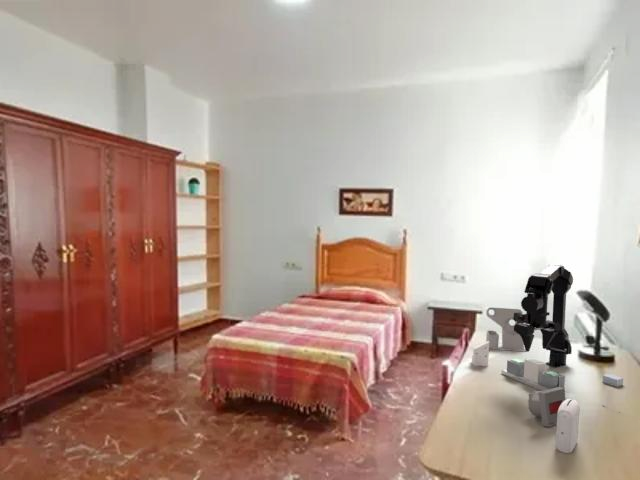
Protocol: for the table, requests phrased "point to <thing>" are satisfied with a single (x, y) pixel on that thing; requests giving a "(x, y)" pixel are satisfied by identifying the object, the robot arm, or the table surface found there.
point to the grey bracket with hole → (505, 330)
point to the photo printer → (567, 425)
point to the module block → (534, 369)
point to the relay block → (612, 380)
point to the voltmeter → (546, 404)
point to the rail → (547, 380)
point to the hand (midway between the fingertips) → (535, 350)
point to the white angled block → (481, 354)
